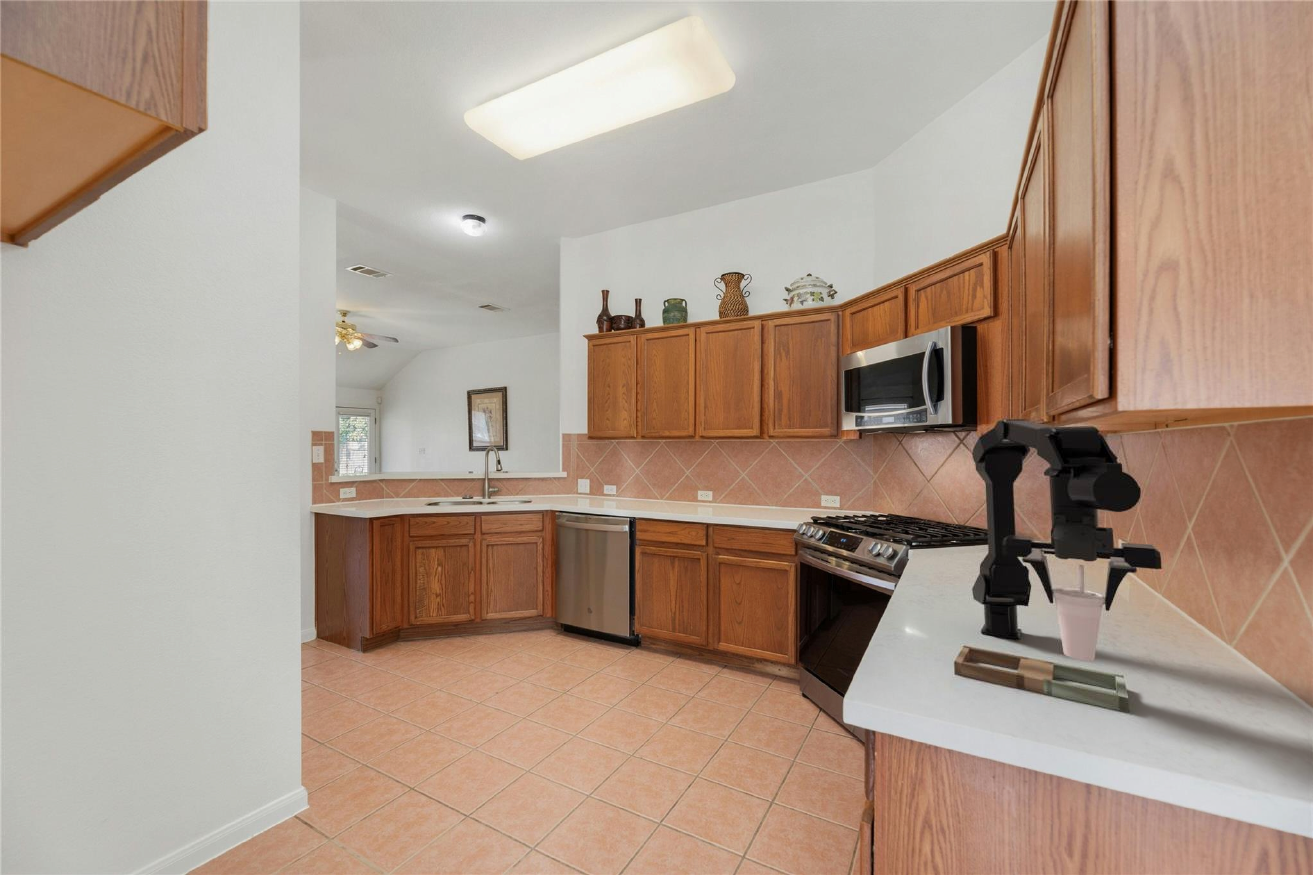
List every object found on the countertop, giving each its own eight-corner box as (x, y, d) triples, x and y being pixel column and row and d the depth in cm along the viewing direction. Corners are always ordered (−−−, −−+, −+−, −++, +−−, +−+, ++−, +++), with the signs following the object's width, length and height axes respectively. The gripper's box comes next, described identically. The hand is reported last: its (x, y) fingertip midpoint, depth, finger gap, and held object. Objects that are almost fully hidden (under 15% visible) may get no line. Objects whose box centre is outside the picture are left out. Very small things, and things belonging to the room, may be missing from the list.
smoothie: (1116, 666, 76) (1114, 570, 76) (1067, 662, 77) (1065, 568, 77) (1089, 649, 82) (1088, 561, 82) (1044, 646, 83) (1043, 559, 84)
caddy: (964, 656, 93) (963, 645, 93) (1124, 688, 80) (1123, 675, 80) (954, 673, 86) (954, 661, 86) (1129, 712, 72) (1128, 697, 72)
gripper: (996, 507, 80) (1000, 607, 79) (1163, 513, 68) (1170, 632, 68) (1004, 502, 89) (1008, 593, 88) (1153, 507, 77) (1159, 612, 76)
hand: (1078, 606), depth 80 cm, fingers closed on smoothie, 6 cm apart
